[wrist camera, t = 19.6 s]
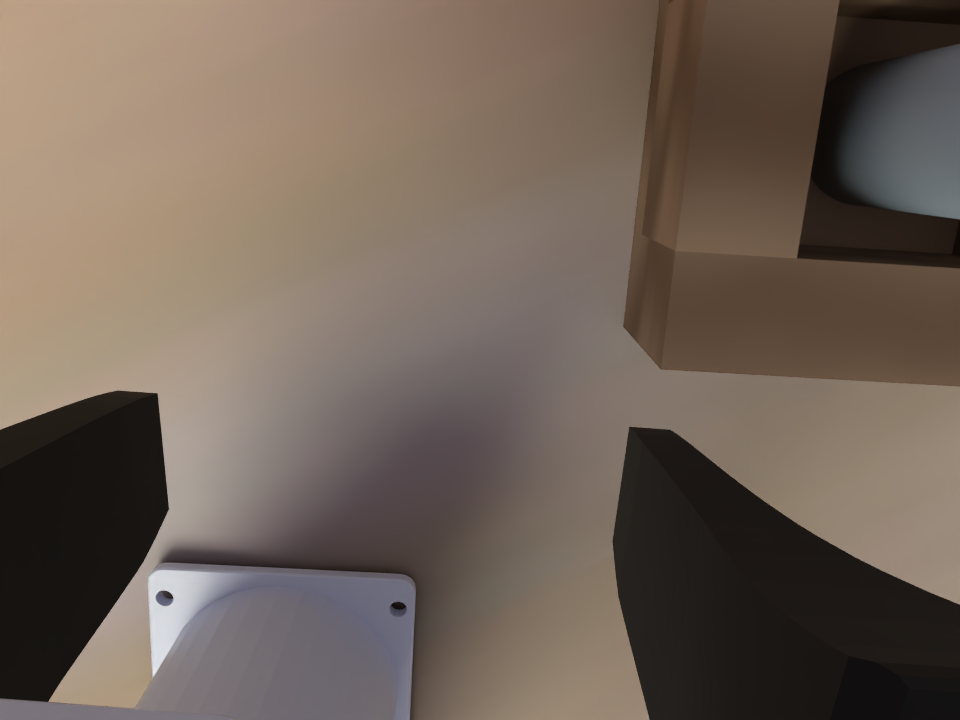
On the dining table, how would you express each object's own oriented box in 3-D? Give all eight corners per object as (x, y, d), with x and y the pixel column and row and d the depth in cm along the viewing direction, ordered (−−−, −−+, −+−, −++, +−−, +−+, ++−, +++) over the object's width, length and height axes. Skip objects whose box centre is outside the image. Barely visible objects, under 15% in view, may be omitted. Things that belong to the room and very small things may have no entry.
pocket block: (1003, 349, 23) (1129, 396, 18) (623, 326, 22) (660, 369, 18) (1104, -74, 20) (1281, -137, 16) (672, -106, 20) (729, -179, 15)
